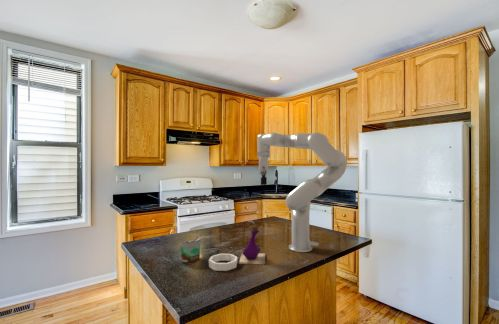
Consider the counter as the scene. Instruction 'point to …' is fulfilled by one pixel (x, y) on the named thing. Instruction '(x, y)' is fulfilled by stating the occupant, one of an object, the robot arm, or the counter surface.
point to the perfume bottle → (252, 245)
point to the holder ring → (223, 266)
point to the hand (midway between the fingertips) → (263, 184)
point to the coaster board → (259, 259)
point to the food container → (190, 250)
